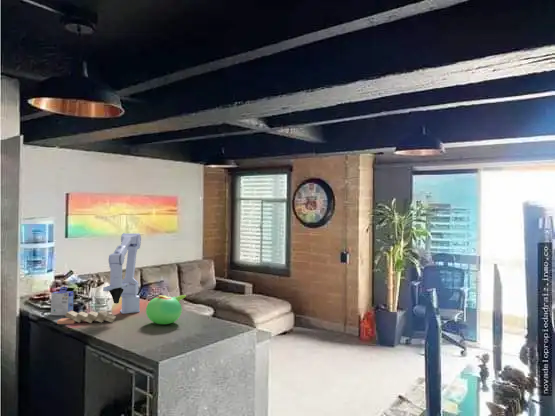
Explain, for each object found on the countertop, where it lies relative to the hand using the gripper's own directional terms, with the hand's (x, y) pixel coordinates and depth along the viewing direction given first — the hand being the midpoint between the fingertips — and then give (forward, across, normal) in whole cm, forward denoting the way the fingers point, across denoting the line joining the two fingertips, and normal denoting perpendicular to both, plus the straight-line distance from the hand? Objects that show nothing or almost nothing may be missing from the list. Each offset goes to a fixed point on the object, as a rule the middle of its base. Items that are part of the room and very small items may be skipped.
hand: (116, 303), depth 214 cm
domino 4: (+8, +3, -5) cm, 10 cm away
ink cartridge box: (+10, +4, -37) cm, 38 cm away
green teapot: (+10, -9, +25) cm, 28 cm away
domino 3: (+8, +6, -9) cm, 14 cm away
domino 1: (+9, +11, -16) cm, 22 cm away
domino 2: (+8, +9, -14) cm, 19 cm away
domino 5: (+8, +1, -1) cm, 8 cm away
